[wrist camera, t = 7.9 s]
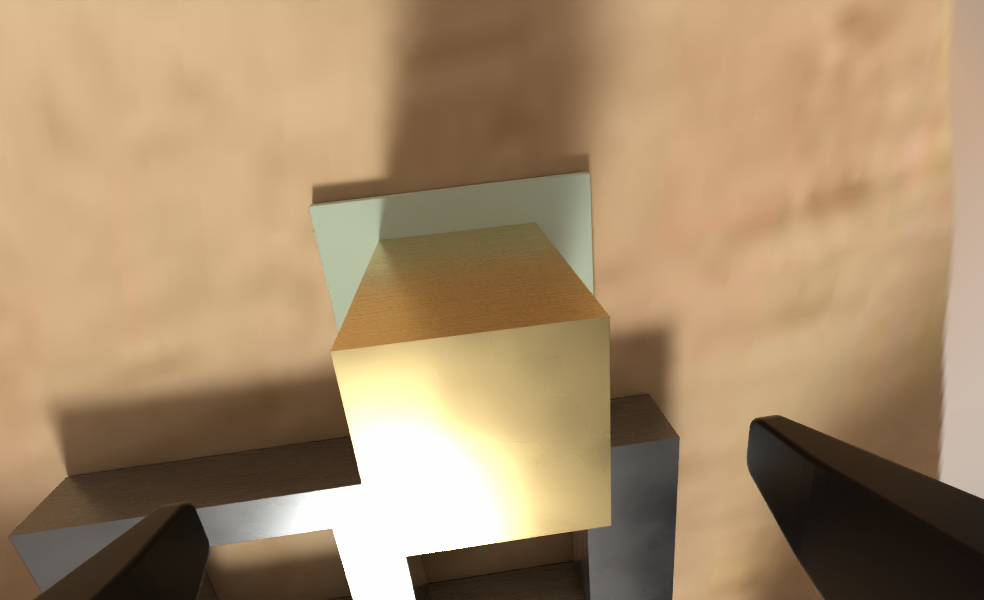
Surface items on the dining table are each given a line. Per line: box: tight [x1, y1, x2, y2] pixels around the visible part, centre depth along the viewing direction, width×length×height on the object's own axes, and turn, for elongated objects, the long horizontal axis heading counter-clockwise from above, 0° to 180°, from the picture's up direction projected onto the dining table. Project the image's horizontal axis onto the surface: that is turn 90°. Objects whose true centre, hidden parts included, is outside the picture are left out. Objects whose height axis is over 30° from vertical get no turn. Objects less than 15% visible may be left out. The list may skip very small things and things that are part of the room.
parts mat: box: [309, 172, 594, 333], centre depth 16 cm, size 8×7×1 cm
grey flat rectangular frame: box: [8, 394, 680, 600], centre depth 18 cm, size 20×9×2 cm, turn 96°
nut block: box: [330, 222, 611, 560], centre depth 12 cm, size 5×5×7 cm
